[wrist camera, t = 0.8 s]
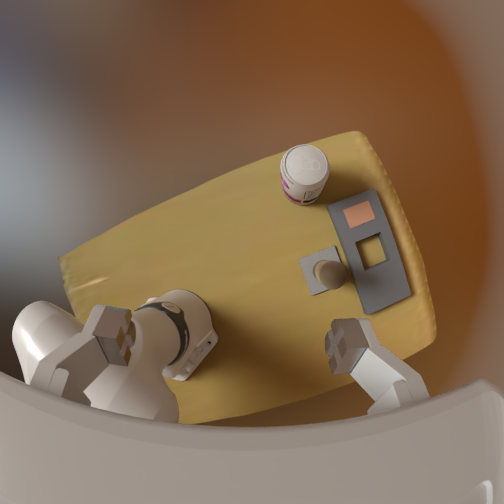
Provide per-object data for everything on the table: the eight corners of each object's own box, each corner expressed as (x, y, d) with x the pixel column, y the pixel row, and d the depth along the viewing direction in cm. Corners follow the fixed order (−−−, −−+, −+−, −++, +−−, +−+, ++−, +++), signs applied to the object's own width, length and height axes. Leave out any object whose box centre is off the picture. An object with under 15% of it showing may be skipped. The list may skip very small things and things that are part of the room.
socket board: (406, 293, 52) (411, 295, 50) (364, 313, 53) (367, 315, 51) (371, 190, 54) (374, 187, 51) (326, 207, 55) (328, 204, 52)
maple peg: (327, 285, 54) (339, 294, 41) (308, 275, 55) (314, 281, 42) (337, 265, 54) (351, 268, 41) (318, 256, 54) (327, 256, 42)
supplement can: (281, 204, 56) (278, 186, 41) (284, 167, 56) (281, 139, 41) (320, 207, 55) (330, 191, 40) (321, 170, 55) (331, 143, 40)
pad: (346, 281, 54) (347, 281, 54) (311, 295, 55) (311, 295, 55) (333, 245, 55) (334, 245, 54) (298, 259, 56) (298, 259, 55)
